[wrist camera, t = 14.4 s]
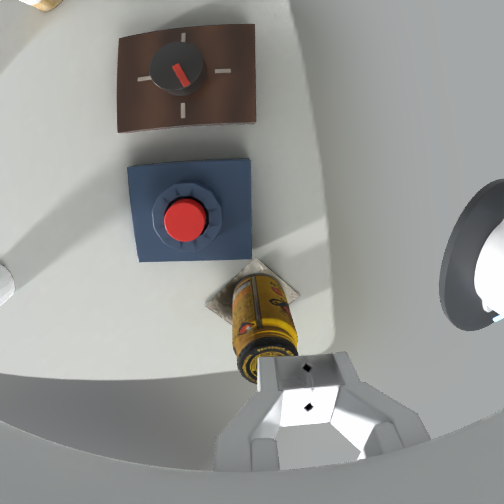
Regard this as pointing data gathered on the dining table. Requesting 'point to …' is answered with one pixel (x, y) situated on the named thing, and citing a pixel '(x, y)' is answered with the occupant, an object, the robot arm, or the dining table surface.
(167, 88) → the dial
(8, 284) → the capsule
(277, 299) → the condiment
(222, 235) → the button housing
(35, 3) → the sprinkles bottle
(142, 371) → the dining table surface
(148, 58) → the dial panel
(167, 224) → the button
